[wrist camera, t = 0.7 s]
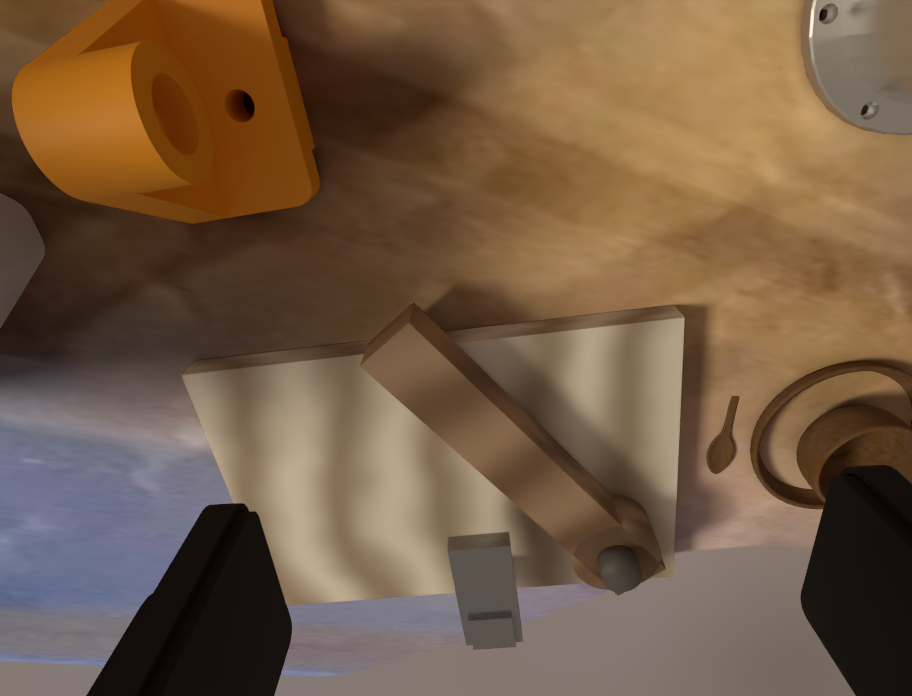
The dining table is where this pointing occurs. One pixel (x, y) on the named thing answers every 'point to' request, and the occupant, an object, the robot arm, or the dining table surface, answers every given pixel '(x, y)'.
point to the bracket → (171, 111)
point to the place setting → (827, 439)
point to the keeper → (486, 589)
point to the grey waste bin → (16, 253)
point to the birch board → (438, 451)
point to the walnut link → (513, 452)
